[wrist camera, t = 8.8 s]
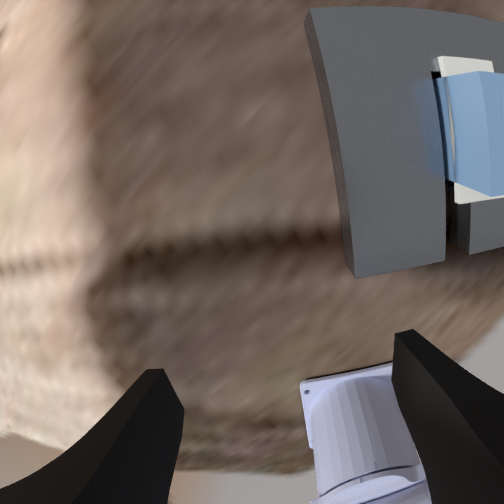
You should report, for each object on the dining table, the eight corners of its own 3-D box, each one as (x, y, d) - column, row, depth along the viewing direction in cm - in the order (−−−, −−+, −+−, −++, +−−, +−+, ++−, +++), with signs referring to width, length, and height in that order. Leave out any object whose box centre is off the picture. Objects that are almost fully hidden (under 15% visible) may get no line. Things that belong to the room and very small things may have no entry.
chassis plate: (532, 222, 17) (552, 233, 15) (345, 260, 19) (355, 279, 17) (516, 37, 12) (537, 32, 10) (303, 23, 14) (309, 8, 12)
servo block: (476, 185, 17) (536, 211, 11) (433, 191, 17) (490, 220, 12) (463, 66, 14) (524, 56, 8) (416, 64, 14) (473, 46, 9)
